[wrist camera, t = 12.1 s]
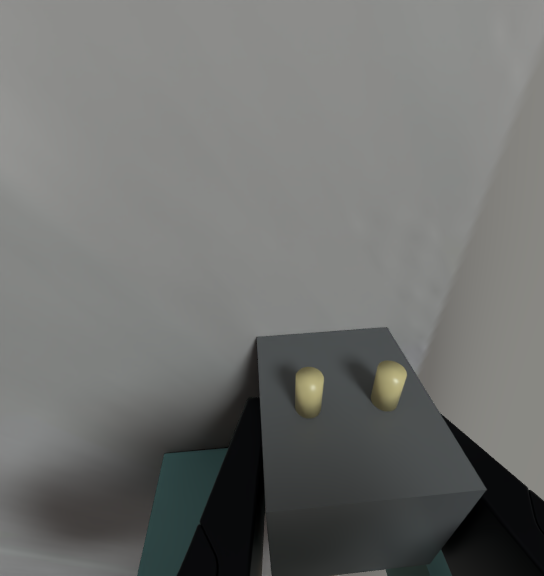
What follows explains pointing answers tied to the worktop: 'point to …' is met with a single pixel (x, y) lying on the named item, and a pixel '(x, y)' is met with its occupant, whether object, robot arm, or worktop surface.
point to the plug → (355, 456)
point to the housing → (188, 510)
